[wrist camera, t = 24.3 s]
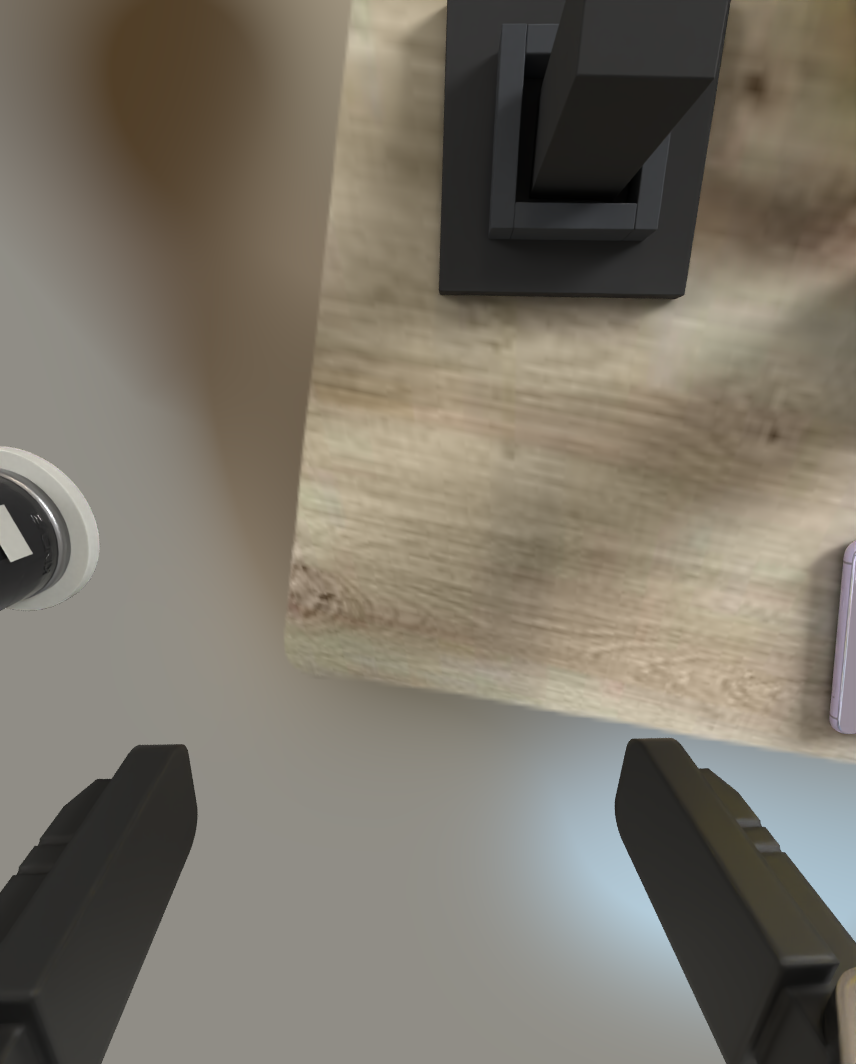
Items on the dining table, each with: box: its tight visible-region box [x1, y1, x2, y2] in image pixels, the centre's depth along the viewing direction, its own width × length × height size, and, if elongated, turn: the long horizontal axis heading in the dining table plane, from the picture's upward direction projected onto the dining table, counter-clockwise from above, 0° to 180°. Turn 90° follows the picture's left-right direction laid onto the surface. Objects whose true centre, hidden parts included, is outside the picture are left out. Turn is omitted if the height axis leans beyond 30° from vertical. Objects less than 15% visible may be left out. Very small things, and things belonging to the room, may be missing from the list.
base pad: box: [439, 0, 731, 299], centre depth 26 cm, size 14×14×3 cm
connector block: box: [529, 0, 728, 201], centre depth 21 cm, size 5×5×11 cm
